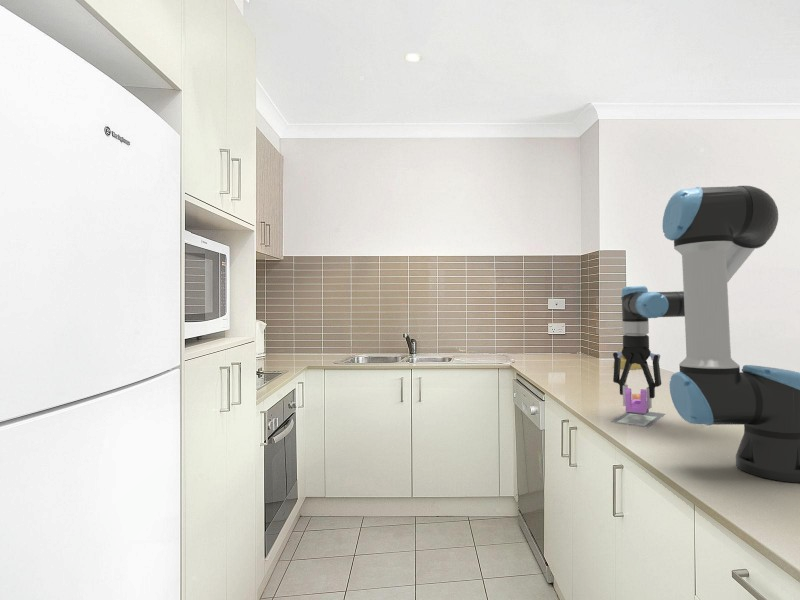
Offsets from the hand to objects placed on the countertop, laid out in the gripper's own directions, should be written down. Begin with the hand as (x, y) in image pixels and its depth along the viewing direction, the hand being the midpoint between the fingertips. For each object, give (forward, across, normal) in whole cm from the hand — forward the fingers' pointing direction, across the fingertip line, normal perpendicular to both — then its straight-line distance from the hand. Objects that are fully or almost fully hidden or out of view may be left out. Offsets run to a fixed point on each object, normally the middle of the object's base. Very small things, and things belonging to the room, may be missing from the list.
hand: (637, 406), depth 154 cm
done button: (+2, +3, -10) cm, 11 cm away
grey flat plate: (+5, 0, -3) cm, 5 cm away
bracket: (+1, 0, 0) cm, 1 cm away
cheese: (+6, +37, -115) cm, 121 cm away
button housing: (+4, +3, -10) cm, 12 cm away
